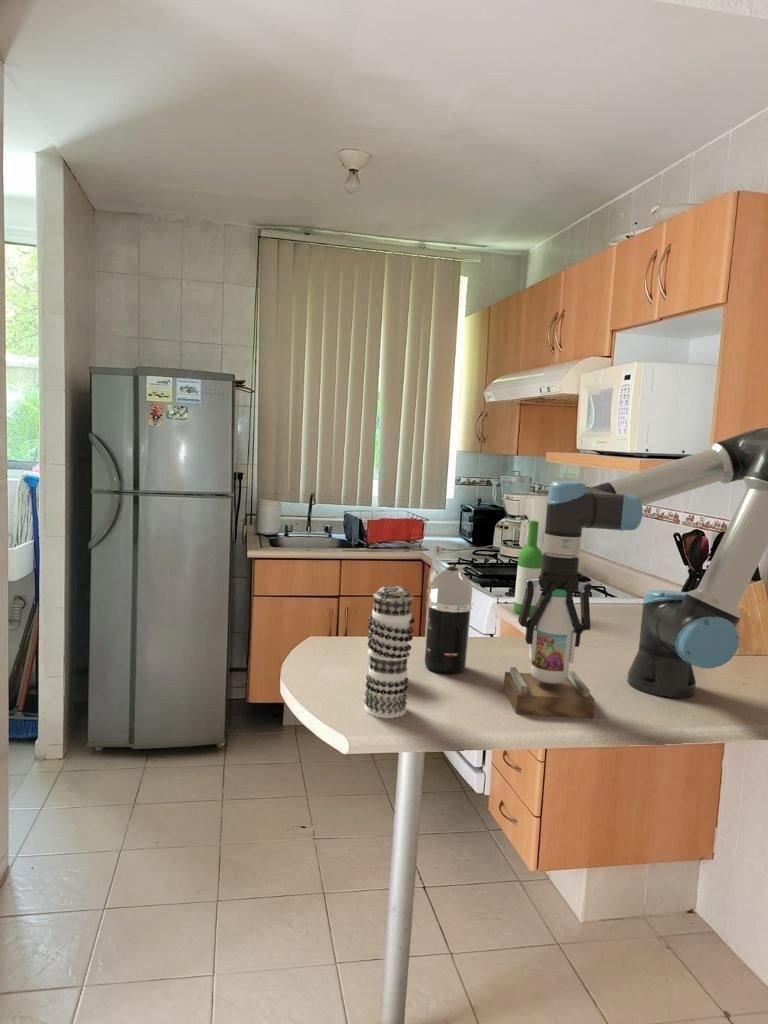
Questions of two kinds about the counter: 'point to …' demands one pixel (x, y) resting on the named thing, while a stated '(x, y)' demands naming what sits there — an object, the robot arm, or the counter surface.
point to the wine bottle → (528, 568)
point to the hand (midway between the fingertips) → (550, 659)
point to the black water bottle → (448, 622)
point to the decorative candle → (389, 652)
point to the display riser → (548, 695)
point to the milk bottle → (553, 641)
